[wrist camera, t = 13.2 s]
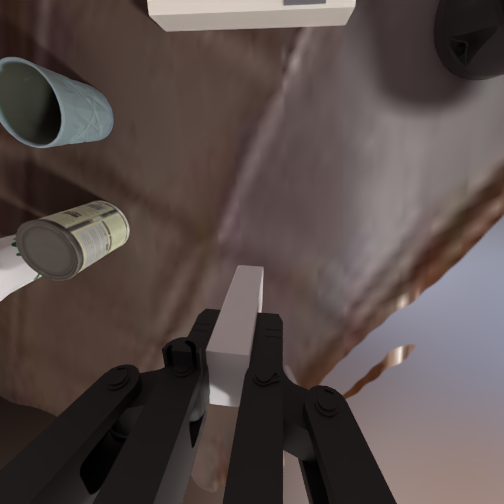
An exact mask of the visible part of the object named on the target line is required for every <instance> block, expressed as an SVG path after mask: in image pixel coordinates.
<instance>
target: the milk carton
mask: <svg viewBox="0 0 504 504" xmlns="http://www.w3.org/2000/svg"><path fill="white" fill-rule="evenodd" d="M41 276H42V275H40V274H38V273H37V272H35V271H34V270H33V269H32V268H30V267H29V266H28V265H27V263H26V262H25V261H24V260H23V258H22V257H21V255H20V253H19V251H18V249H17V245H16V234H13V235H10V236H7V237H4V238H1V239H0V301H1V300H3V299H4V298H5V297H6V296H7V295H9V294H10V293H12V292H14V291H15V290H17V289H19V288H21V287H23V286H25V285H26V284H28V283H30V282H32V281H34V280H36V279H37V278H39V277H41Z"/></svg>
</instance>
